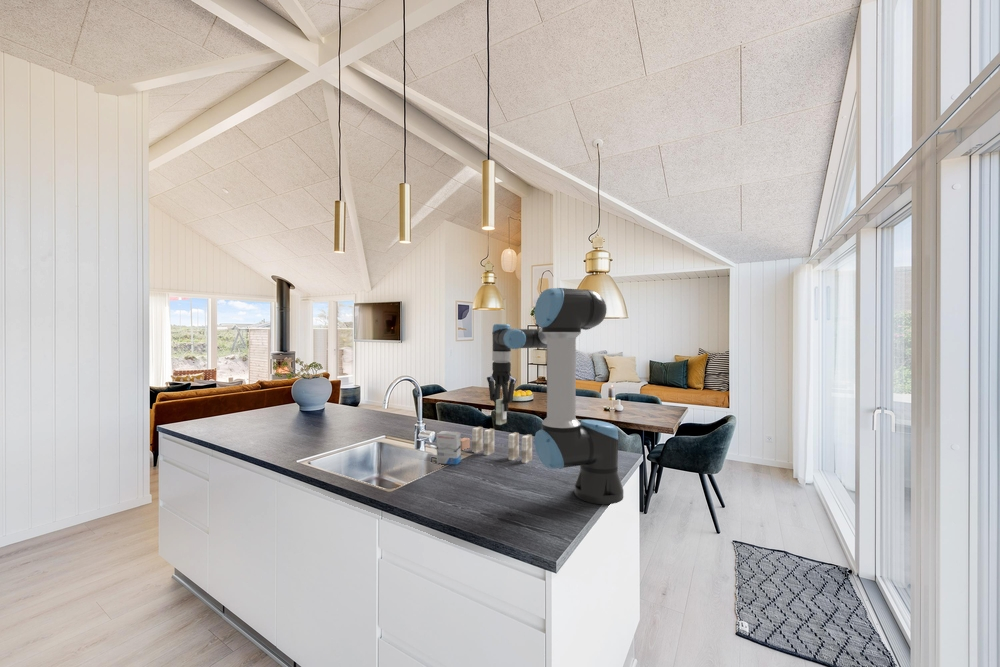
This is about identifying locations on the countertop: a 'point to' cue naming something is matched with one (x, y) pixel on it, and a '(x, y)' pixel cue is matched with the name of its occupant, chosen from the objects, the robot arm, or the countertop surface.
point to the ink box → (448, 447)
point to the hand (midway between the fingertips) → (501, 418)
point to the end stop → (465, 443)
